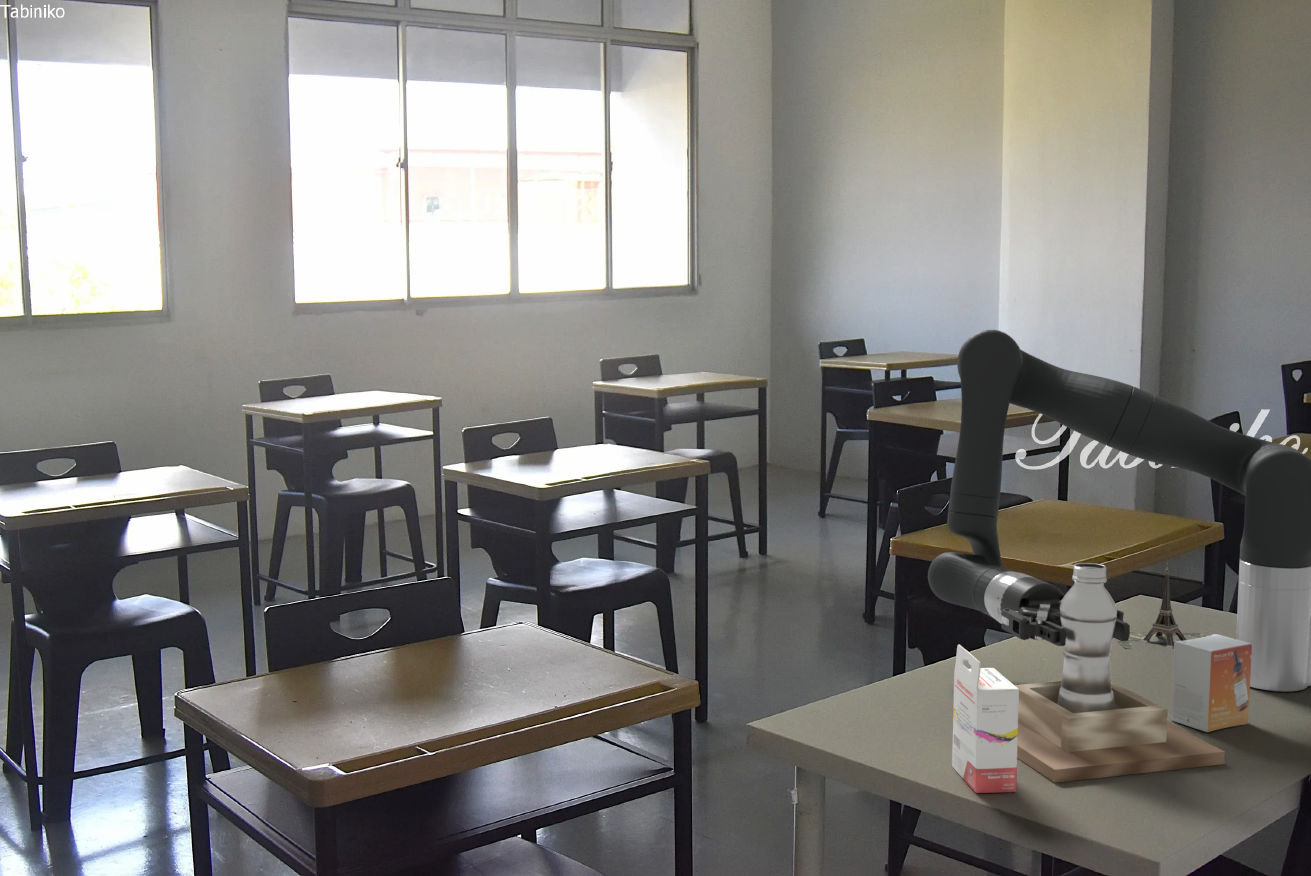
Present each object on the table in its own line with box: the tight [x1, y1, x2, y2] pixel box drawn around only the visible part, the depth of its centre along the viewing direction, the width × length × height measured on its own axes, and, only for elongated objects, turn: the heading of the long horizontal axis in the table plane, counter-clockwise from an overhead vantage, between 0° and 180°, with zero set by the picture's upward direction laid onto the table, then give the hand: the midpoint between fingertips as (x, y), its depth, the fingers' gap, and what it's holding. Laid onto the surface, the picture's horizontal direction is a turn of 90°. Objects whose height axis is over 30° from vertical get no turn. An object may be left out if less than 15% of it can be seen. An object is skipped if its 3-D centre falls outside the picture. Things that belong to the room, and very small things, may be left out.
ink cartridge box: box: [951, 644, 1019, 794], centre depth 141 cm, size 9×5×15 cm, turn 5°
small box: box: [1170, 633, 1252, 733], centre depth 159 cm, size 8×6×10 cm
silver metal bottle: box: [1057, 562, 1118, 713], centre depth 152 cm, size 6×7×20 cm
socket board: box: [1014, 680, 1226, 783], centre depth 153 cm, size 22×22×6 cm
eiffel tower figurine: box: [1116, 561, 1204, 650], centre depth 197 cm, size 15×10×13 cm
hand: (1095, 635), depth 151 cm, fingers open, 8 cm apart
